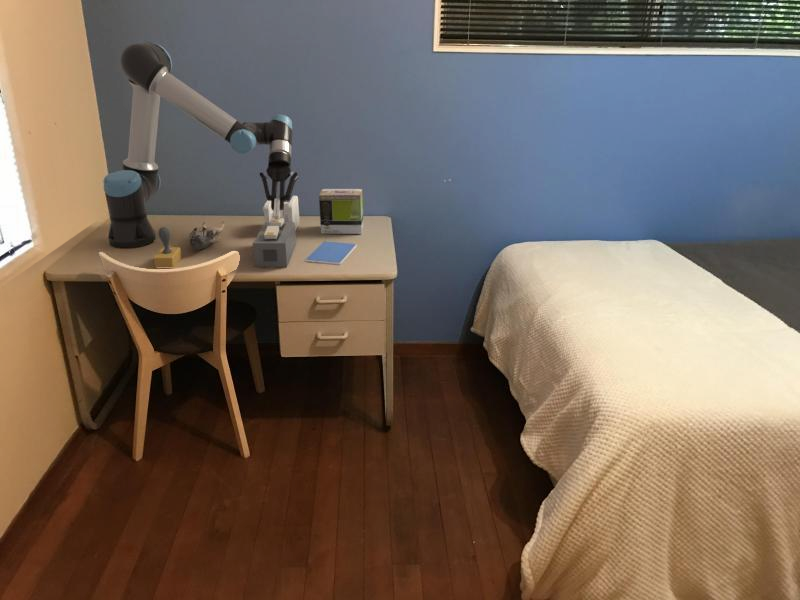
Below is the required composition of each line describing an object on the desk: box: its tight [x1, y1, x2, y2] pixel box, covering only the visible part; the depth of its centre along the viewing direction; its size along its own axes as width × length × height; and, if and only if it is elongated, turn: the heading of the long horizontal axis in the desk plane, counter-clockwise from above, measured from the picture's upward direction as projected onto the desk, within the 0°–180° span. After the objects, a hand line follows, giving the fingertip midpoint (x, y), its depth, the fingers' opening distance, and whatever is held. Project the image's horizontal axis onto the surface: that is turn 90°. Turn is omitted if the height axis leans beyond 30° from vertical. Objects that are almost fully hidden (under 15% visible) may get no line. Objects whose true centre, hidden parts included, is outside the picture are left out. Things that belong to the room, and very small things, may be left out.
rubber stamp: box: [153, 226, 183, 268], centre depth 193 cm, size 10×6×12 cm, turn 4°
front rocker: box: [264, 226, 279, 239], centre depth 194 cm, size 4×6×2 cm, turn 1°
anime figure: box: [189, 220, 226, 251], centre depth 213 cm, size 10×7×30 cm
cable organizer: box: [262, 195, 300, 232], centre depth 225 cm, size 15×11×12 cm
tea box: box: [318, 188, 364, 235], centre depth 224 cm, size 15×10×15 cm, turn 89°
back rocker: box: [270, 218, 284, 227], centre depth 203 cm, size 4×6×2 cm, turn 1°
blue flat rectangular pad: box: [303, 240, 358, 266], centre depth 205 cm, size 19×13×1 cm, turn 167°
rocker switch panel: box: [252, 221, 297, 268], centre depth 200 cm, size 10×22×8 cm, turn 1°
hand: (276, 218), depth 201 cm, fingers closed
